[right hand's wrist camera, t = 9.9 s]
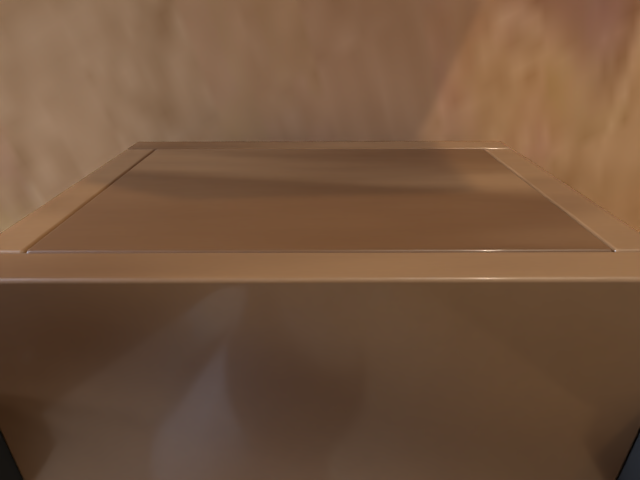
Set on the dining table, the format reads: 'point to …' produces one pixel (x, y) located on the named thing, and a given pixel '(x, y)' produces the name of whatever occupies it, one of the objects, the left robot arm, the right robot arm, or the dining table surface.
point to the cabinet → (320, 318)
